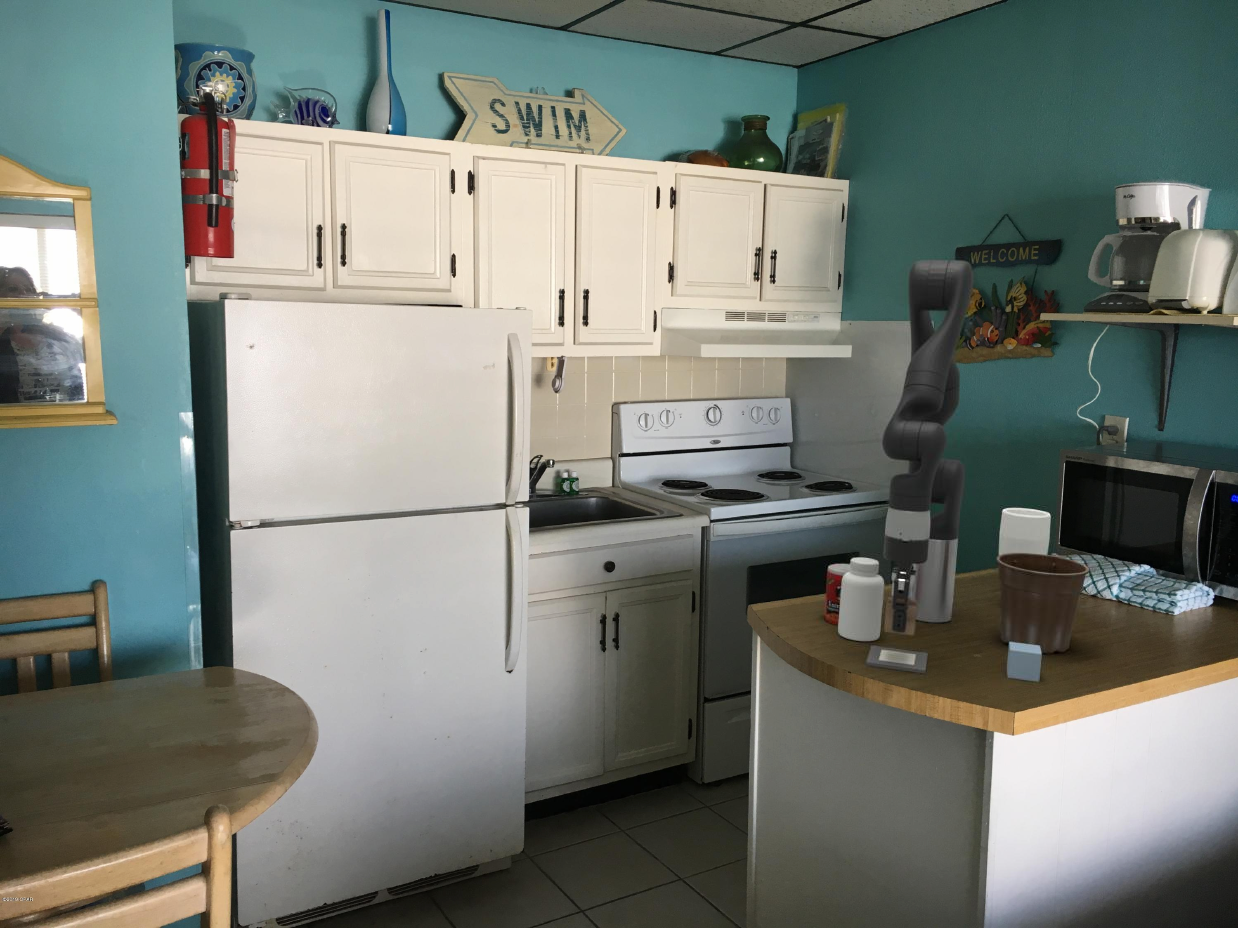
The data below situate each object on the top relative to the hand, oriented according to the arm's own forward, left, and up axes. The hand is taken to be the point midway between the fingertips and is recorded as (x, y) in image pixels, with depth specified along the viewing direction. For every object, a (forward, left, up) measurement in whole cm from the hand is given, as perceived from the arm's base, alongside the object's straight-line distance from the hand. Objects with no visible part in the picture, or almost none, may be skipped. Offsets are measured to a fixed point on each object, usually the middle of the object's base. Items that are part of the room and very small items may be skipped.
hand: (899, 626), depth 174 cm
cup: (-47, +22, -7) cm, 52 cm away
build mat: (0, 0, -6) cm, 6 cm away
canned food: (-21, -12, -7) cm, 25 cm away
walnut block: (0, 0, 0) cm, 0 cm away
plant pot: (-22, +24, -7) cm, 33 cm away
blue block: (-2, +21, -6) cm, 22 cm away
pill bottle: (-12, -8, -7) cm, 16 cm away
